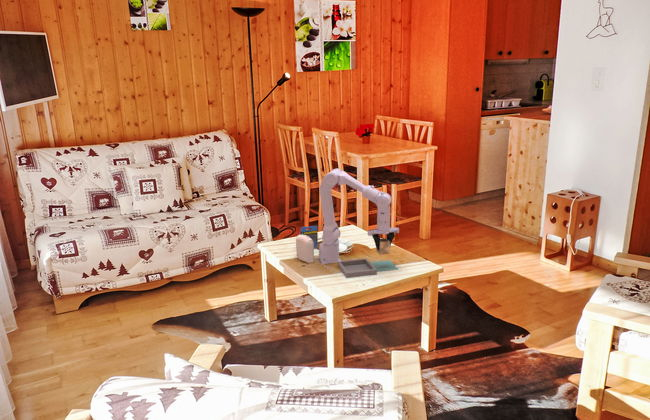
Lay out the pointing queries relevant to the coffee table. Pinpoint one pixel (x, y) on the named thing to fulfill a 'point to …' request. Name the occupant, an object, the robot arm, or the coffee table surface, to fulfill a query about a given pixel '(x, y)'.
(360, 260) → the parts bin
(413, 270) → the coffee table surface
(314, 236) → the label tape cartridge
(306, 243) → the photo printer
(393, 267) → the teal board
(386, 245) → the maple block
